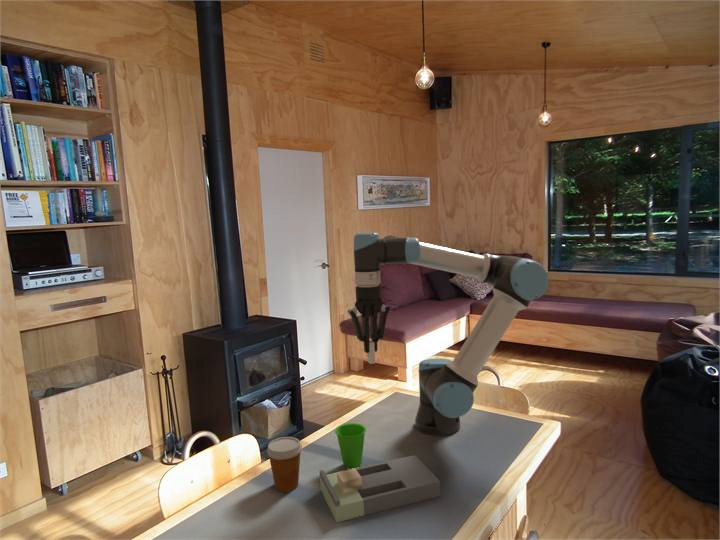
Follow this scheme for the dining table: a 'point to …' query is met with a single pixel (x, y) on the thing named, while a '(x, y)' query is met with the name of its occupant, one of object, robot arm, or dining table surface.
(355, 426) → the cup
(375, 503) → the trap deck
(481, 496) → the dining table surface
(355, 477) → the block
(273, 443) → the disposable coffee cup
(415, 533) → the dining table surface
